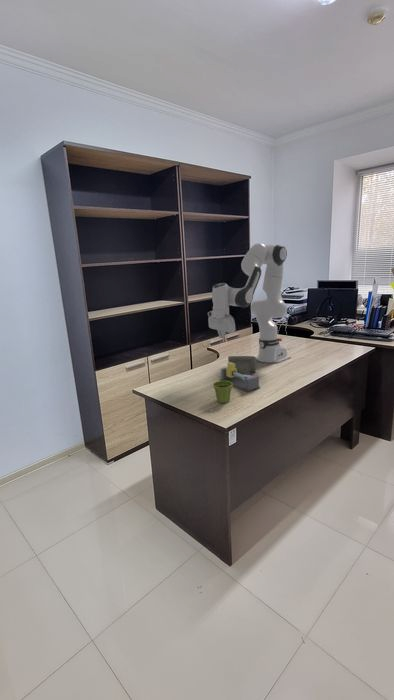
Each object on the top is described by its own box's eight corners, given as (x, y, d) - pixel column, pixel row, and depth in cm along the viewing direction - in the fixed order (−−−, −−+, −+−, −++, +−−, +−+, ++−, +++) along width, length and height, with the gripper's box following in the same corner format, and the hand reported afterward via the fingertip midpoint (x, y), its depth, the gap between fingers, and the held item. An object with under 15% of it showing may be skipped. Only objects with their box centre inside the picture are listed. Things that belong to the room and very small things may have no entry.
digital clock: (257, 371, 205) (257, 354, 202) (253, 376, 197) (253, 358, 194) (231, 369, 211) (231, 352, 209) (226, 374, 204) (225, 356, 201)
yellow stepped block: (226, 376, 192) (225, 363, 190) (232, 374, 194) (232, 361, 192) (230, 377, 189) (230, 365, 187) (237, 376, 191) (236, 363, 189)
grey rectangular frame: (219, 380, 194) (219, 369, 192) (232, 376, 199) (232, 365, 197) (247, 392, 175) (246, 380, 174) (260, 387, 180) (260, 376, 178)
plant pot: (222, 406, 161) (221, 389, 158) (209, 400, 168) (208, 384, 166) (237, 401, 166) (236, 384, 164) (224, 395, 173) (223, 379, 171)
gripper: (237, 314, 182) (238, 340, 186) (214, 310, 199) (216, 334, 202) (228, 316, 179) (229, 342, 182) (205, 312, 195) (207, 336, 199)
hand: (222, 338), depth 192 cm, fingers closed
